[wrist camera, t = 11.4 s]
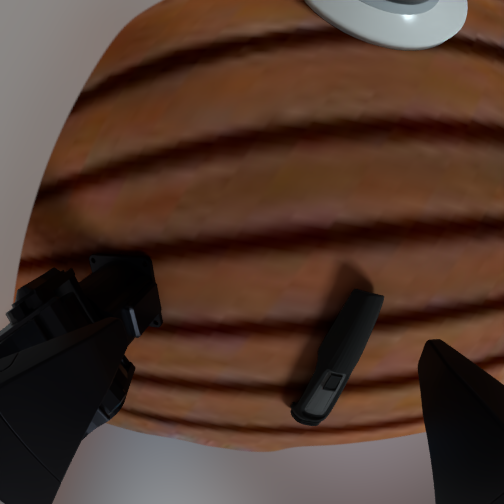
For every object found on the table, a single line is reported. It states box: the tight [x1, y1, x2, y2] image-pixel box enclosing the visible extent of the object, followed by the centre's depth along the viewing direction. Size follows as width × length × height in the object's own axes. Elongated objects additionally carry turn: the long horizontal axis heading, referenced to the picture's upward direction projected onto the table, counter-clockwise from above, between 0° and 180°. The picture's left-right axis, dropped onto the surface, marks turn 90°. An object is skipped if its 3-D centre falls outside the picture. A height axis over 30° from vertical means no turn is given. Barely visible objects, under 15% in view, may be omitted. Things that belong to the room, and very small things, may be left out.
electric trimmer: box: [291, 289, 384, 426], centre depth 22 cm, size 4×16×3 cm, turn 168°
